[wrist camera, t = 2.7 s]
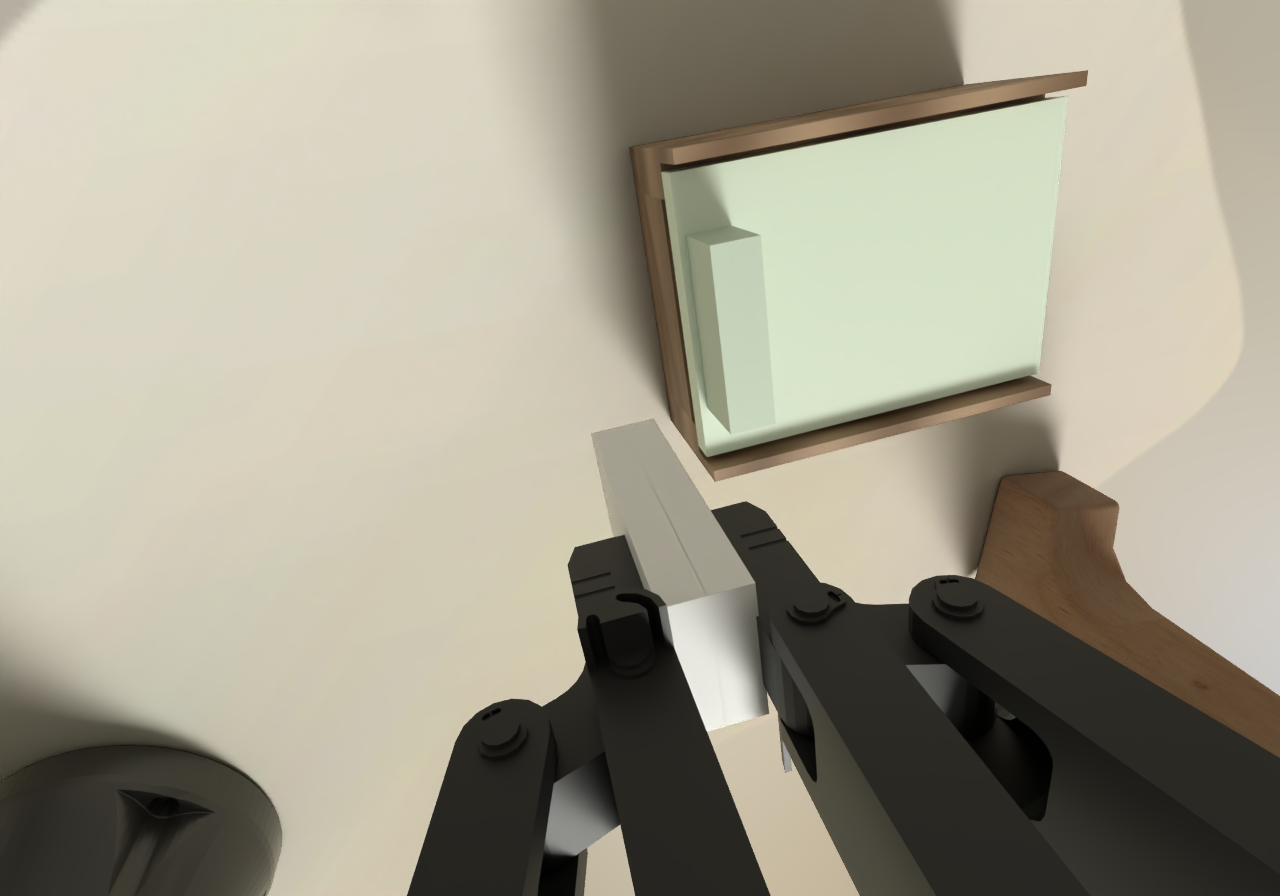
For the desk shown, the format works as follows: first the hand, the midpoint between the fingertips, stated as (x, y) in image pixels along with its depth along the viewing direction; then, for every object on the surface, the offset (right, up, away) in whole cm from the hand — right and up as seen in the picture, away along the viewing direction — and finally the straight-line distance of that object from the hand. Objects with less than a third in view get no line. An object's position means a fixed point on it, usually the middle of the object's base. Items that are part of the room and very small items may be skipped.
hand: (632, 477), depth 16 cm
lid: (+10, +8, +12) cm, 17 cm away
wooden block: (+24, -5, +28) cm, 37 cm away
